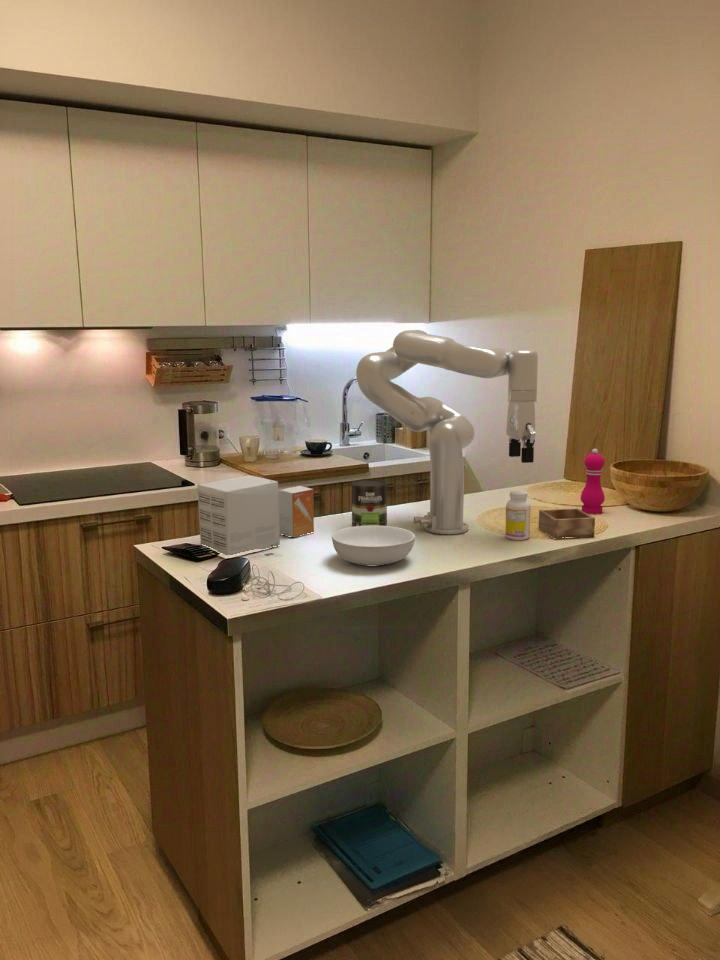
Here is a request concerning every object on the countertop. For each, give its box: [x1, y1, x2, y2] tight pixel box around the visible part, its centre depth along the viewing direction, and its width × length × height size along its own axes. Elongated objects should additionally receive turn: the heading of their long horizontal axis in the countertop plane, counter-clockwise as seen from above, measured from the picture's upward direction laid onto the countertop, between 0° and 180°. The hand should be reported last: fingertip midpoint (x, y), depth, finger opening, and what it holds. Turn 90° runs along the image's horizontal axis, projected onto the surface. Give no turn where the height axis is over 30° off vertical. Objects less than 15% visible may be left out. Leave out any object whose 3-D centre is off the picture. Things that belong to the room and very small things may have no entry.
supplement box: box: [196, 474, 281, 555], centre depth 213 cm, size 17×13×18 cm
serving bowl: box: [331, 525, 416, 566], centre depth 202 cm, size 21×21×7 cm
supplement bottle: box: [505, 490, 531, 541], centre depth 222 cm, size 7×7×13 cm
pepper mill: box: [580, 448, 606, 515], centre depth 249 cm, size 7×7×20 cm
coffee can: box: [350, 478, 388, 527], centre depth 230 cm, size 10×10×14 cm
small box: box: [278, 485, 315, 538], centre depth 227 cm, size 8×6×13 cm
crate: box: [538, 507, 596, 539], centre depth 227 cm, size 12×12×6 cm
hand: (520, 459), depth 219 cm, fingers open, 9 cm apart
